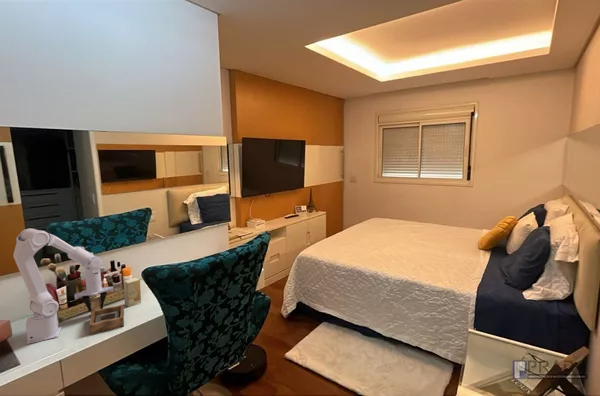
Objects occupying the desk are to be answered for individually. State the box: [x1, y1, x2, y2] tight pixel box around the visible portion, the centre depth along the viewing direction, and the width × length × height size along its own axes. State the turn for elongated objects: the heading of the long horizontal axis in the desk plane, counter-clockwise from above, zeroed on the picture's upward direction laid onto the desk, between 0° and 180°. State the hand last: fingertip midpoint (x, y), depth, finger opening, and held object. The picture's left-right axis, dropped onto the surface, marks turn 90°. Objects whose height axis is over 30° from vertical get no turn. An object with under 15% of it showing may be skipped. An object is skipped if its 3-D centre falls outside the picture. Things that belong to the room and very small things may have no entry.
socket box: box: [88, 304, 125, 335], centre depth 133 cm, size 12×14×4 cm
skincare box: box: [123, 277, 142, 308], centre depth 150 cm, size 6×4×12 cm
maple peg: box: [90, 296, 101, 315], centre depth 139 cm, size 4×4×7 cm
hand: (95, 309), depth 140 cm, fingers closed on maple peg, 4 cm apart
